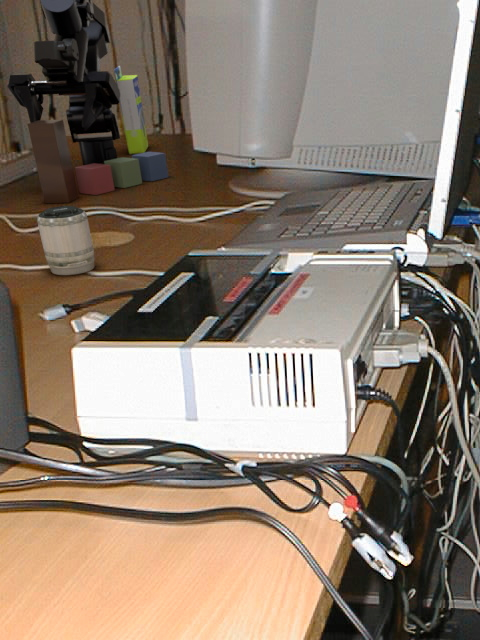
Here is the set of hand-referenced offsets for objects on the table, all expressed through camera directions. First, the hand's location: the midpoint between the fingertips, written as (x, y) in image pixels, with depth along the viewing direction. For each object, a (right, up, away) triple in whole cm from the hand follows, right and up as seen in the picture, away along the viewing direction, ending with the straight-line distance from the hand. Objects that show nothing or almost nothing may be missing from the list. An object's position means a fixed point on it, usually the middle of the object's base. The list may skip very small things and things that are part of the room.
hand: (59, 129), depth 160 cm
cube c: (+5, -9, +7) cm, 12 cm away
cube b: (+9, -6, +11) cm, 15 cm away
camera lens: (+16, -35, -39) cm, 55 cm away
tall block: (0, -12, +1) cm, 12 cm away
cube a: (+12, -3, +16) cm, 21 cm away
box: (+1, +15, +47) cm, 50 cm away
